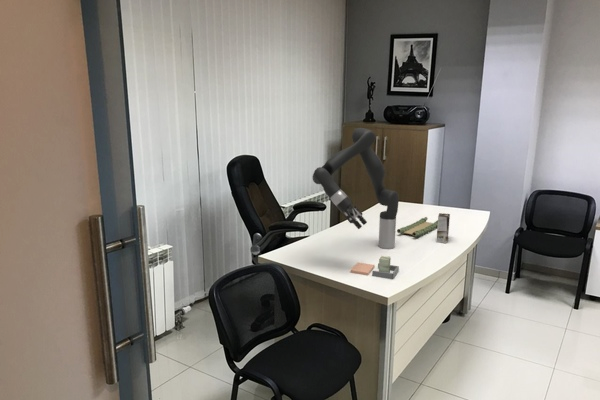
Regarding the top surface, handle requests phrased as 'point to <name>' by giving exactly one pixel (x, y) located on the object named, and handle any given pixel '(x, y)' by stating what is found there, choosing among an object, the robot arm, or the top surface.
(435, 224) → the stretcher
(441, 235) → the coffee box
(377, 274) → the charcoal channel
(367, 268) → the terracotta tile
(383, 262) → the sage block
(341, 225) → the top surface
